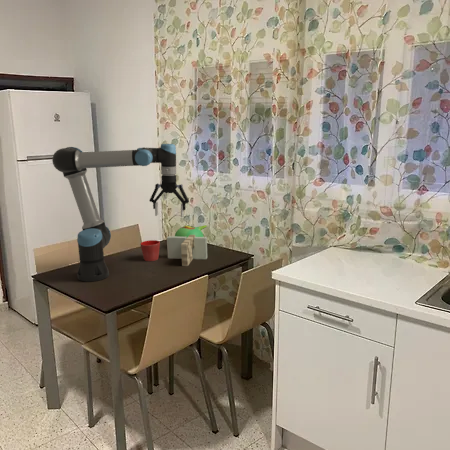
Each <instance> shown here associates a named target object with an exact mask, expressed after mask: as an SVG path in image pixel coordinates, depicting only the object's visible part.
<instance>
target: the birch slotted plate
mask: <svg viewBox="0 0 450 450" xmlns="http://www.w3.org/2000/svg"><path fill="white" fill-rule="evenodd" d="M194 238H195V235H189V236H188V237H187V238H186V239H185V241H184V242H183V243H182V244H181V253H182V259H181V266H182V267H188V266H189V265H190V264H191V263H192V261H193V260H194V259H193V258H192V248H193V247H194Z"/></svg>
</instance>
